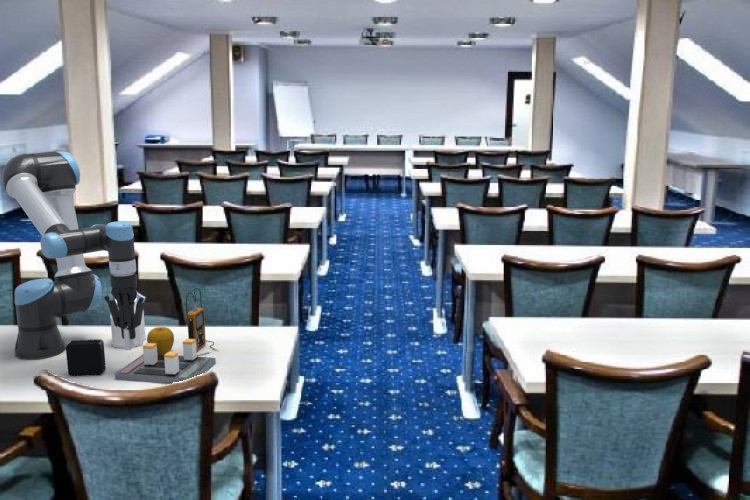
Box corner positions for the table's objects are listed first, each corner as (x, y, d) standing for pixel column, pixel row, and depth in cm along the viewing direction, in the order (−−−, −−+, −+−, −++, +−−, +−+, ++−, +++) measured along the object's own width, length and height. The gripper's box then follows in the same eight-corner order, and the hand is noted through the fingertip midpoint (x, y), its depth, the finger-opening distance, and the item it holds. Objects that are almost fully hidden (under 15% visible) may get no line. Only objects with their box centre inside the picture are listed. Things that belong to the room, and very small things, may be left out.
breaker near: (165, 373, 224) (164, 354, 222) (169, 370, 226) (168, 351, 225) (174, 374, 223) (173, 355, 222) (179, 370, 226) (178, 352, 224)
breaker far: (183, 359, 235) (182, 341, 234) (187, 356, 238) (186, 338, 236) (192, 360, 234) (191, 342, 233) (196, 356, 237) (195, 339, 236)
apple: (142, 355, 246) (140, 329, 244) (162, 347, 253) (160, 322, 251) (161, 360, 241) (159, 333, 239) (180, 352, 248) (179, 326, 247)
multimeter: (213, 357, 243) (209, 297, 239) (184, 355, 245) (180, 295, 241) (230, 342, 257) (227, 285, 253) (203, 340, 259) (199, 284, 255)
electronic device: (72, 371, 232) (69, 340, 230) (106, 370, 233) (103, 339, 231) (68, 376, 228) (65, 344, 226) (102, 375, 229) (99, 343, 227)
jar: (139, 347, 253) (136, 304, 250) (110, 348, 252) (106, 305, 249) (147, 336, 264) (144, 294, 261) (119, 337, 263) (115, 295, 260)
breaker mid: (144, 364, 231) (142, 345, 230) (148, 360, 234) (147, 342, 233) (153, 364, 231) (152, 346, 230) (157, 361, 233) (156, 343, 232)
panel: (115, 379, 226) (114, 372, 225) (145, 358, 243) (144, 351, 242) (190, 385, 221) (190, 378, 220) (215, 363, 238) (215, 357, 238)
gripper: (96, 275, 226) (103, 351, 230) (136, 277, 223) (143, 353, 228) (110, 270, 233) (117, 343, 238) (149, 271, 230) (155, 345, 235)
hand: (129, 348), depth 233 cm, fingers closed
